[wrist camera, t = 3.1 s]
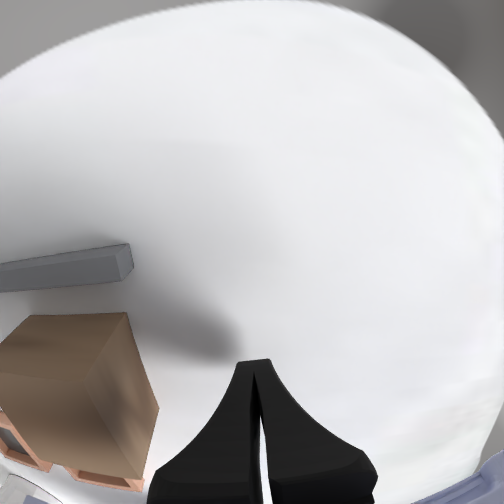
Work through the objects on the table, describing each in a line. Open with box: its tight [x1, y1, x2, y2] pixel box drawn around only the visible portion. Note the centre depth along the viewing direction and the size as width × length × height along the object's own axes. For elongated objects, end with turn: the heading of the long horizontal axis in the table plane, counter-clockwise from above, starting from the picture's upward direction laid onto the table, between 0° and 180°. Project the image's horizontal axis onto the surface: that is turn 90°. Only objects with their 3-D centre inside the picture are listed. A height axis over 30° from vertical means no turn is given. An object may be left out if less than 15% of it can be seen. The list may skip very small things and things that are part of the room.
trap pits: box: [0, 411, 144, 492], centre depth 15 cm, size 6×15×1 cm, turn 96°
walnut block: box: [0, 312, 159, 480], centre depth 11 cm, size 6×6×5 cm
